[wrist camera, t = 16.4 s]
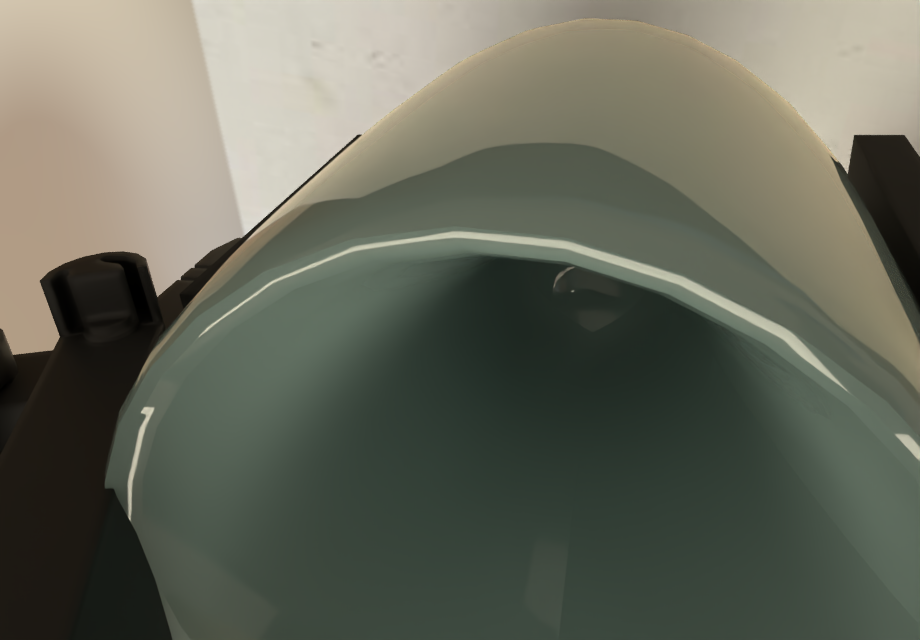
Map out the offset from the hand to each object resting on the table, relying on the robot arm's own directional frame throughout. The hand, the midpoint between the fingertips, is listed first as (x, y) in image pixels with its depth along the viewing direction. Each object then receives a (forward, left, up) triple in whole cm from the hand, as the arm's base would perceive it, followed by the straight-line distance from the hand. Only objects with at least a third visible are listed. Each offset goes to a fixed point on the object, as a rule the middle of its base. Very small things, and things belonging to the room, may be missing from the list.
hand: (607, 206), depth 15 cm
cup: (0, 0, 0) cm, 0 cm away
